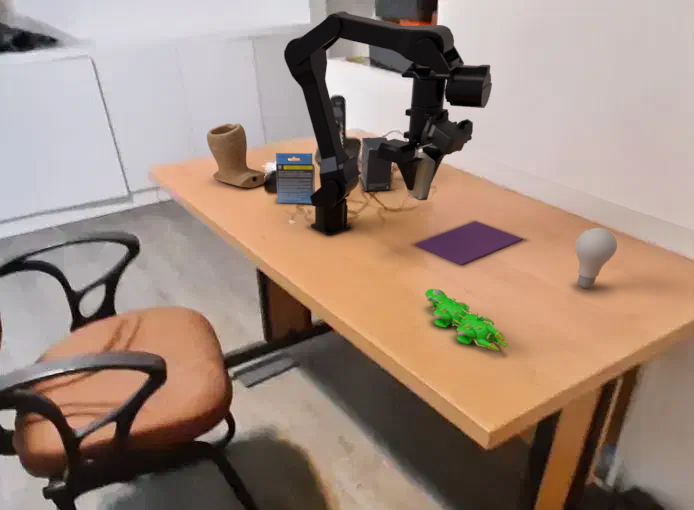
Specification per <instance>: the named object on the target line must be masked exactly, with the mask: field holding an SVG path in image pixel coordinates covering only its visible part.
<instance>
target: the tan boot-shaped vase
mask: <svg viewBox="0 0 694 510" xmlns="http://www.w3.org/2000/svg"><path fill="white" fill-rule="evenodd" d="M206 142H207V146H208V149H209V150H210V153H211V155H212V156H213V158H214V160H215V162H216V165H217V168H218V170H217V171H215V172H214V173H213V175H212V177H213V179H214V180H216V181H217V182H221V183H224V184H229V185H233V186H236V187H241V188H255V187H259V186H260V185H263V184H264V176H265V174H266V173H267V172H263V171H261V170H260V171H259V170H256V169H253V168H249V167H248V165H247V152H248V151H247V149H248V144H247V135H246V131H245V128H244V127H243V125H242V124H240V123H235V124H233V123H225V124H222V125H218V126H216V127H213V128H211V129H209V130H208V131H207V134H206Z"/></svg>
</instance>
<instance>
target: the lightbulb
mask: <svg viewBox="0 0 694 510" xmlns="http://www.w3.org/2000/svg"><path fill="white" fill-rule="evenodd" d="M617 241H618V240H617V238H616V236H615V235H614V233H612V232H611V231H610V230H608V229H606V228H602V227H594V228H593V227H592V228H590V229H587V230H585V231H583V232H582V233H580V235H579V236H578V237H577V239H576V241H575V246H574V247H575V249H574V250H575V253H576V257H577V259H578V278H577V284H578V286H579V287H580V288H582V289H589V288H592V287H593V286H594V285H595V282H596V280H597V277H598V276H599V275H600V272H601V270H602V268H603V267H604V266H605V265H606V263H607V262H608V261H609V260H611V258H612V257H614V255H615V254H616V251H617V248H618V243H617Z"/></svg>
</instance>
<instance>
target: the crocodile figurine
mask: <svg viewBox="0 0 694 510" xmlns="http://www.w3.org/2000/svg"><path fill="white" fill-rule="evenodd" d="M424 295H425V297H426V298H427V301H428V302H429V305H430V306H429V307H430V308H431V309H434V311H433V312H432V316H433V317H434V318H435V320H434V322H433V323H434V325H435V326H437V327H440V328H447V327H448V326H449V325H450V324H452V325H451V326H452V327H454V326H456V333H457V334H458V335H457V337H456V340H457V342H459V343H461V344H464V345H471V343H472V342H474V343H475V345H477V346H478V347H483V348H488V349H489V350H491V351H496V352H497V351H500V349H499V347H498V346H497V345H495V343H496V344H498V345H499V346H500V347H503V348H509V345H508V343H507V342H506V337H505V336H504V334H503V333H502V331H499V330H498V328H497V327H496V326H495V322H494V320H492V319H490V318H488V317H484V316H483V315H479V313H478V312H476V313H473V312H472V311H471V310H470V306H469V305H468V304H467V303H465V302H462V301H461V302H457V299H456V298H455V297H449V296H448V295H447V294H446V292H445V291H443V290H441V289H439V288H429V289H427V290H426V291H425V292H424ZM435 308H436V309H435Z"/></svg>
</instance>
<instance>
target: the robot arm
mask: <svg viewBox="0 0 694 510" xmlns="http://www.w3.org/2000/svg"><path fill="white" fill-rule="evenodd" d="M454 37H455V36H454V34H453V32H452V30H451V29H450V28H449V27H448V26H446V25H444V24H443V25H442V24H419V25H403V24H399V23H398V24H397V23H394V22H388V21H383V20H380V19H374V18H370V17H366V16H361V15H356V14H351V13H348V12H347V11H345V10H341V11H337V12H333V13H331V14H328V16H326V18H325V19H323V20H322V21H321V22H320V23H318V25H316V26H314V27H313V28H312V29H311V30H309V31H308V32H306V33H304V34H303V35H301V36H298V37H295V38H293V39H291V40H289V41H288V42H287V44H286V46H285V48H284V51H283V58H284V62H285V64H286V66H287V68H288V71H289V73H290V75H291V77H292V79H293V80H295V82H296V83H297V84H298V86H299V87H300V88H301V90H302V94H303V97H304V101H305V104H306V108H307V112H308V115H309V119H310V122H311V126H312V131H313V134H314V137H315V141H316V144H317V148H318V152H319V156H320V164H319V165H320V166H319V174H318V175H319V183H320V187H319V188H317V190H315V193H313V194H312V195H311V196H310V199H311V202H312V204H311V205H312V207H314V223H310V228H312V229H314V230H316V231H318V232H320V233H322V234H324V235H326V236H331V235H335V234H337V233H341V232H343V231H347V230H349V229H351V227H352V226H351V225H350V224H348V212H349V211H348V210H349V209H348V208H349V207H348V206H349V205H348V204H347V203H348V200H347V198H348V197H349V196H350V195H351V193H352V192H353V191H354V190H355V189H356V188H357V186H358V184H359V182H360V174H361V170H360V169H359V166H358V158H357V156H356V155H352V156H349V155H348V154H347V152H346V151H345V150H344V146H343V143H342V139H341V135H340V131H339V127H338V124H337V119H336V116H335V113H334V112H335V111H334V107H333V104H332V101H331V96H330V93H329V90H328V86H327V81H326V77H327V68H328V55H327V51H328V50H330V49H331V48H332V47H333V46H334V45H335V44H336V43H337V42H338V41H340V39H343V40H345V41H346V40H347V41H351V42H356V43H359V44H364V45H368V46H372V47H377V48H381V49H385V50H388V51H389V50H390V51H393V52H394V53H396V54H399V55H400V56H401V57H402V58H403V59H405V60H406V61H407V60H408V61H410V62H411V63H410V64H409V66H408V68H407V69H406V70H404V72H402V73H401V77H402V78H403V79H404V78H406V79H412V87H411V99H410V108H407V109H405V111H404V113H405V114H404V116H407V117H409V123H408V130H407V131H404V132H403V139H407V140H408V141H406V140H401V139H397V138H392V139H389V140H388V139H387V140H388V141H385V142H382V143H381V144H380V145H379V146H378V151H377V158H380V159H383V160H387V161H390V162H392V164H393V163H394V164H396V166H397V168H398V170H399V172H400V174H401V177H402V179H403V182H404V185H405V188H406V187H407V189H408V190H410V191H412V190H413V188H414V184H415V177H416V170H417V165H418V164H419V163H420V162H421V161H422V160H423V158H420V157H418V153H419V152H420V150H421V152H424V153H426V154H427V155H428V156H429V157H430V158H431V159H433V160H434V161H435V168H434V172H433V177H432V181H431V184H432V183H433V180H434V179H435V176H436V174H437V172H438V170H439V167H440V165H441V163H442V161H443V160H444V158H445V157H446V156H448V155H452V154H453V153H455V152H461V151H462V150H463V148H464V146H465V144H468V142H469V141H471V140H472V139H473V137H472V134H473V131H474V122H473V121H471V120H470V119H469V118H466V119H461V120H460V121H459V122H457V121H456V120H455V121H451V120H450V119H449V116H450V113H449V109H447V108H444V104H445V103H444V102H445V101H446V103H449V105H450V107H451V106H452V107H463V108H477V109H478V108H479V109H485V108H486V106H487V105H488V102H489V100H490V96H491V92H492V86H493V82H492V74H491V65H490V64H480V65H471V64H469V65H467V64H465V61H464V60H463V59H462V57H461V55H460V54H459V53H460V52H459V51H458V49H457V48H456V45H455V38H454ZM407 189H406V190H407Z"/></svg>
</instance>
